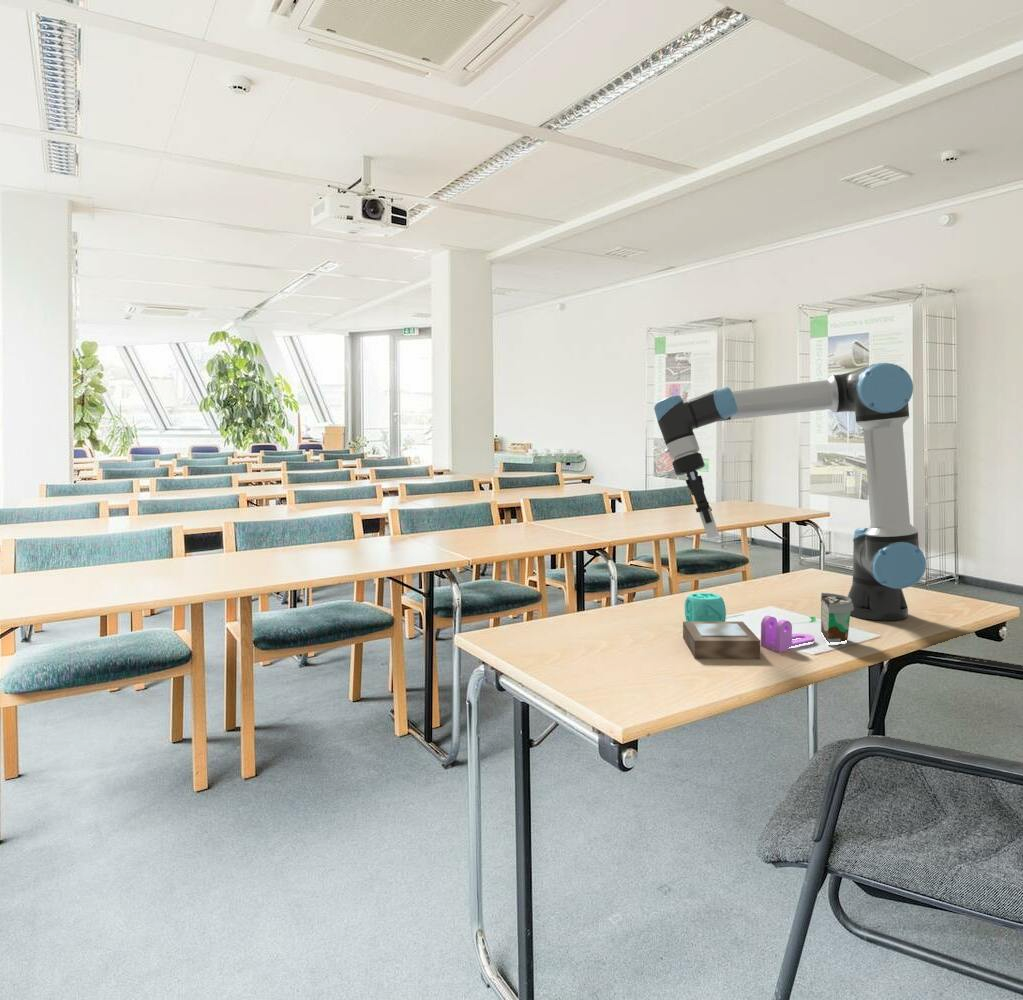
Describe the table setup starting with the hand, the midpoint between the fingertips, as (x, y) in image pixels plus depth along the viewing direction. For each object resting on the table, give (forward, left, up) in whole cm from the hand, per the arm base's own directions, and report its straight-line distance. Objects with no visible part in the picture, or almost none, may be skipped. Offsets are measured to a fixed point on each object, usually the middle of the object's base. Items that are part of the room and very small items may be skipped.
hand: (713, 536), depth 188 cm
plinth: (+2, +18, -23) cm, 29 cm away
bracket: (-15, +15, -23) cm, 31 cm away
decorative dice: (+2, 0, -23) cm, 23 cm away
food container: (-27, +12, -23) cm, 37 cm away
